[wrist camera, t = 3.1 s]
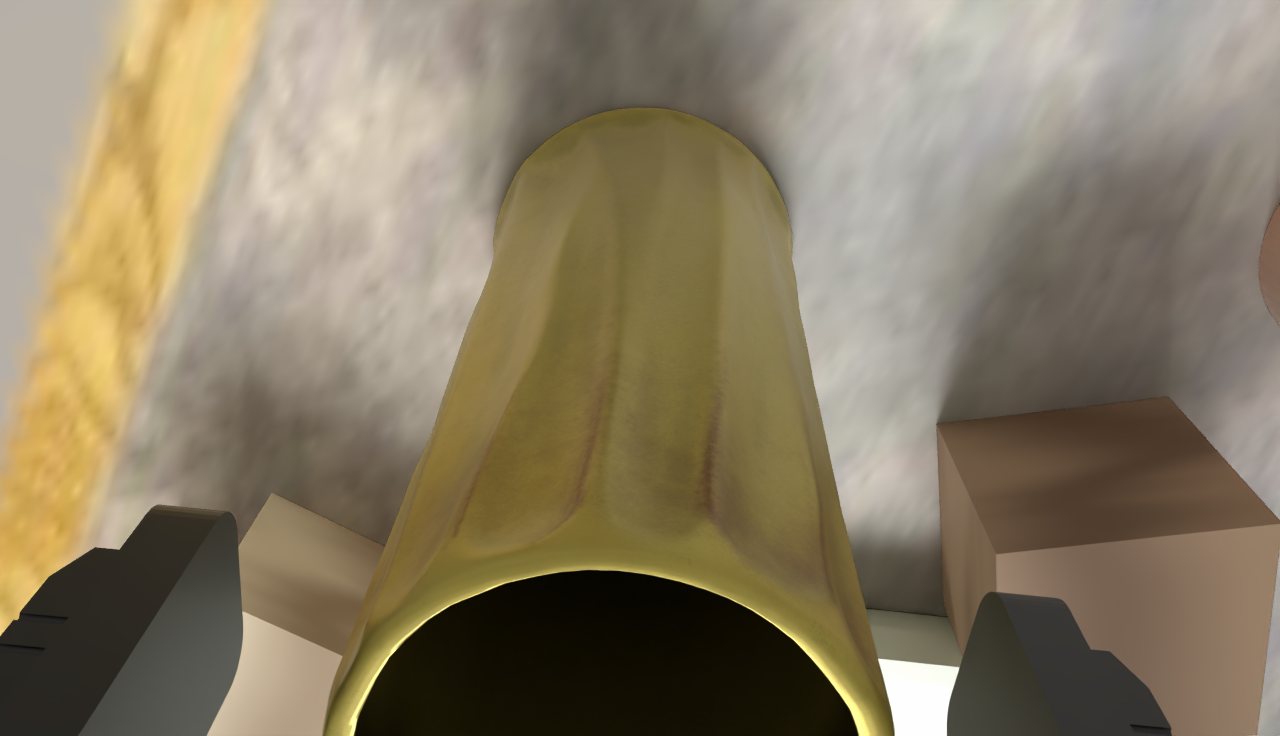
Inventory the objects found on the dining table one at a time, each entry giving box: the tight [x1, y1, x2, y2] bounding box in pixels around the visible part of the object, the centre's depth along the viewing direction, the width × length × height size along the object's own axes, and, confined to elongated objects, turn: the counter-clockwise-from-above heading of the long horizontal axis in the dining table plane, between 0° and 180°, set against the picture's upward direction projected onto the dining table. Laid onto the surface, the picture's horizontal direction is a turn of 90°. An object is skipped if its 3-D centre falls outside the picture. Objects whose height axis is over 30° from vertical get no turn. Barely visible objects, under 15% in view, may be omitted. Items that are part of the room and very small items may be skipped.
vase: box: [322, 107, 895, 736], centre depth 16 cm, size 6×6×14 cm
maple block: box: [207, 493, 385, 736], centre depth 25 cm, size 6×4×4 cm, turn 60°
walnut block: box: [937, 397, 1280, 736], centre depth 23 cm, size 5×5×5 cm
